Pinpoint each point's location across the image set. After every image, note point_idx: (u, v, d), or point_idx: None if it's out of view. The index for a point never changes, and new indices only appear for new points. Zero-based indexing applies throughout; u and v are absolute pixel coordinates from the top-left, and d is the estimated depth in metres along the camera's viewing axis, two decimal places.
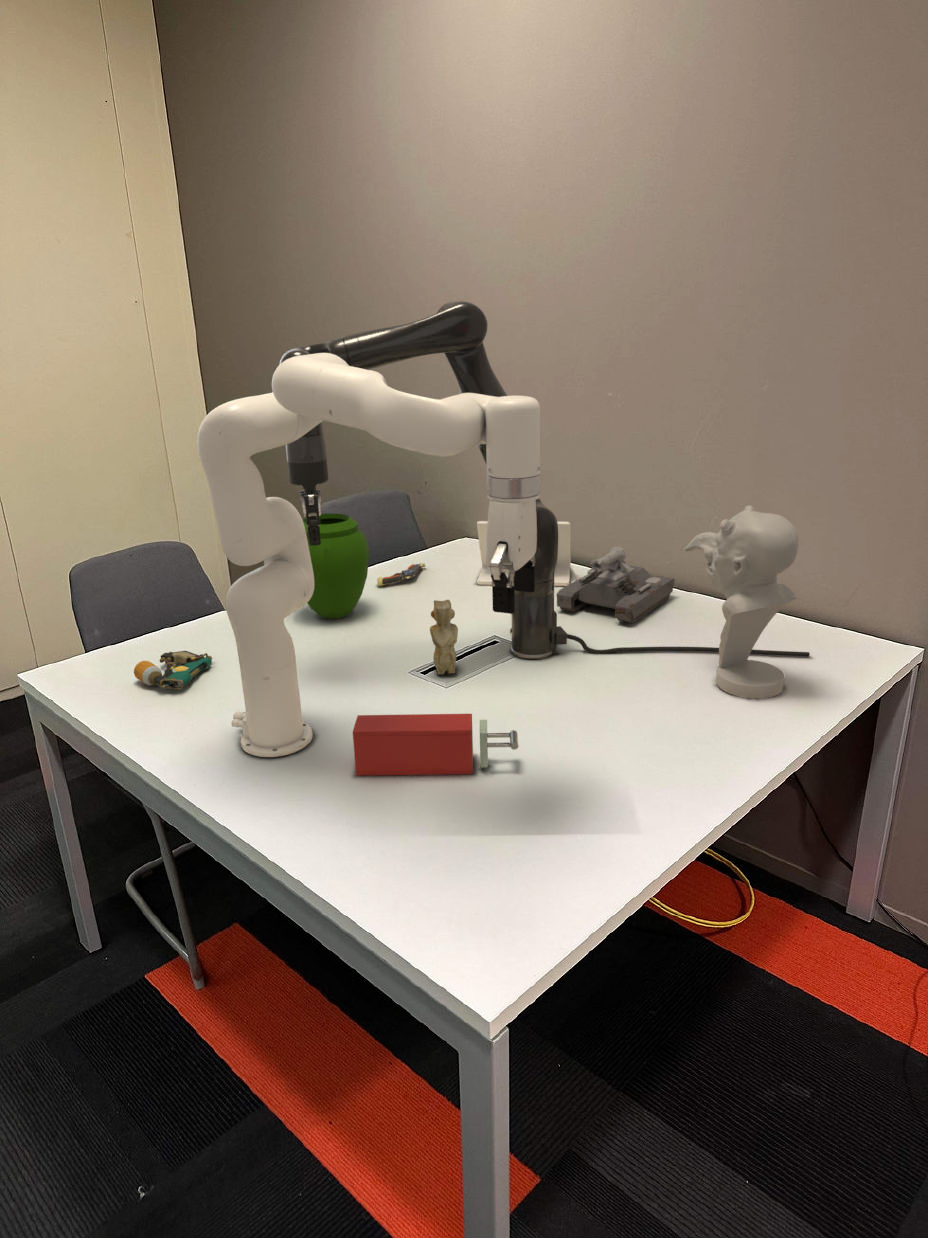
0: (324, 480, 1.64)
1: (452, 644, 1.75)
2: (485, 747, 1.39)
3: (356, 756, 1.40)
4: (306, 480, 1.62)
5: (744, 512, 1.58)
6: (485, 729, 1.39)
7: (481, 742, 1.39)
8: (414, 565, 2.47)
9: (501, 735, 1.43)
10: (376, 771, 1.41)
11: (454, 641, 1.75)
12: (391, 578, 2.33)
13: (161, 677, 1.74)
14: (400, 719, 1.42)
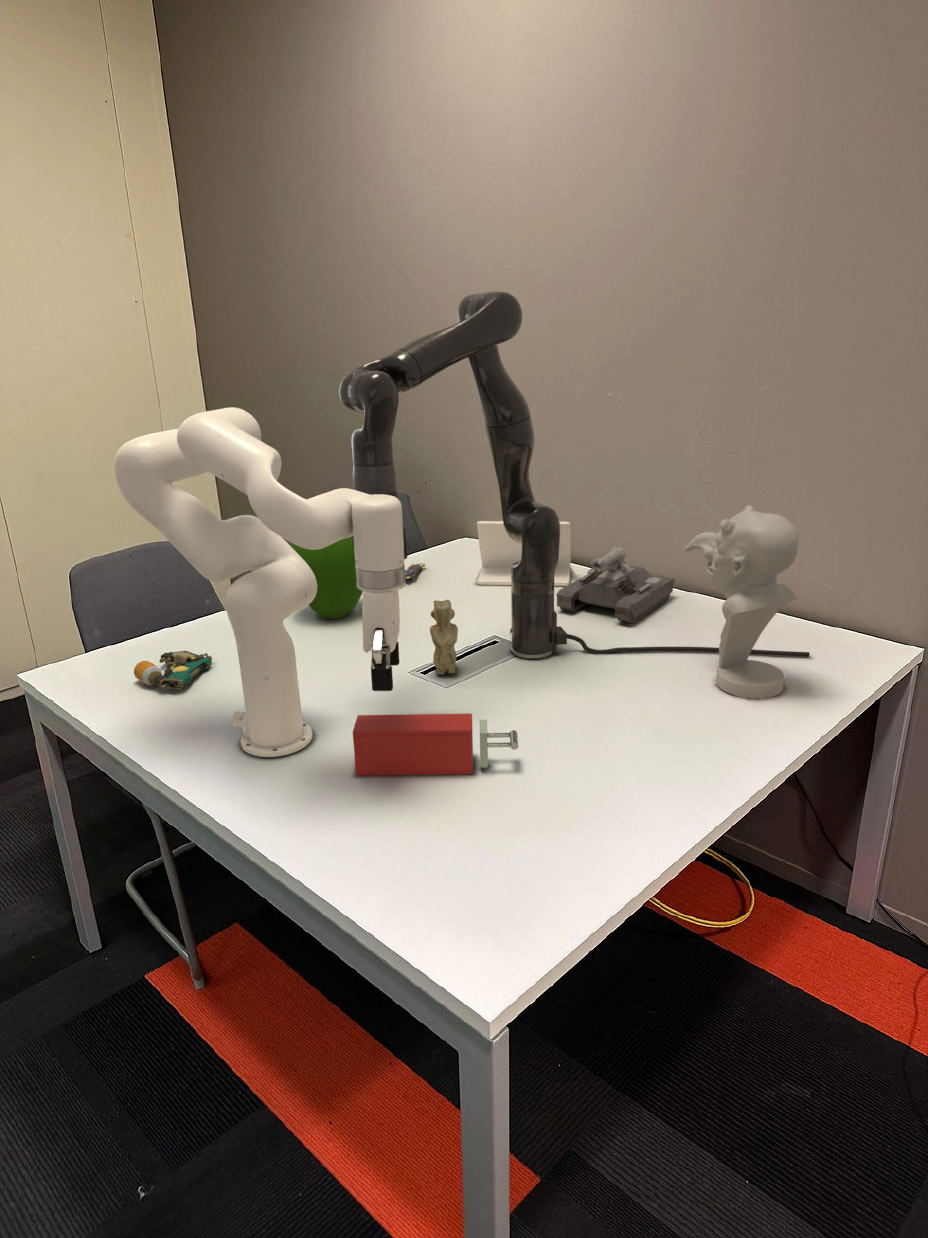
0: None
1: (452, 644, 1.75)
2: (485, 747, 1.39)
3: (356, 756, 1.40)
4: None
5: (744, 512, 1.58)
6: (485, 729, 1.39)
7: (481, 742, 1.39)
8: (414, 565, 2.47)
9: (501, 735, 1.43)
10: (376, 771, 1.41)
11: (454, 641, 1.75)
12: None
13: (161, 677, 1.74)
14: (400, 719, 1.42)
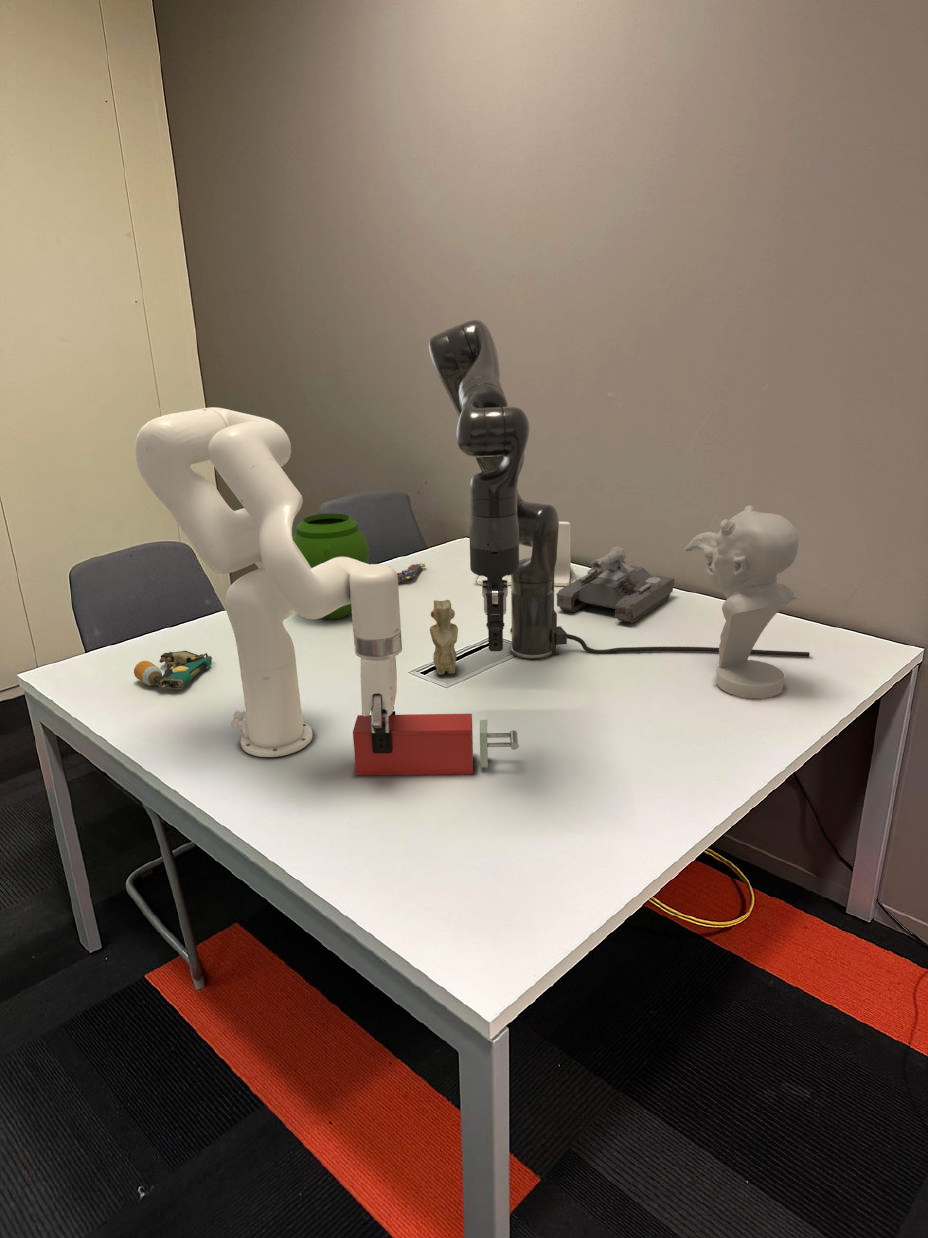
0: None
1: (452, 644, 1.75)
2: (485, 747, 1.39)
3: (356, 756, 1.40)
4: None
5: (744, 512, 1.58)
6: (485, 729, 1.39)
7: (481, 742, 1.39)
8: (414, 565, 2.47)
9: (501, 735, 1.43)
10: (376, 771, 1.41)
11: (454, 641, 1.75)
12: None
13: (161, 677, 1.74)
14: (400, 719, 1.42)
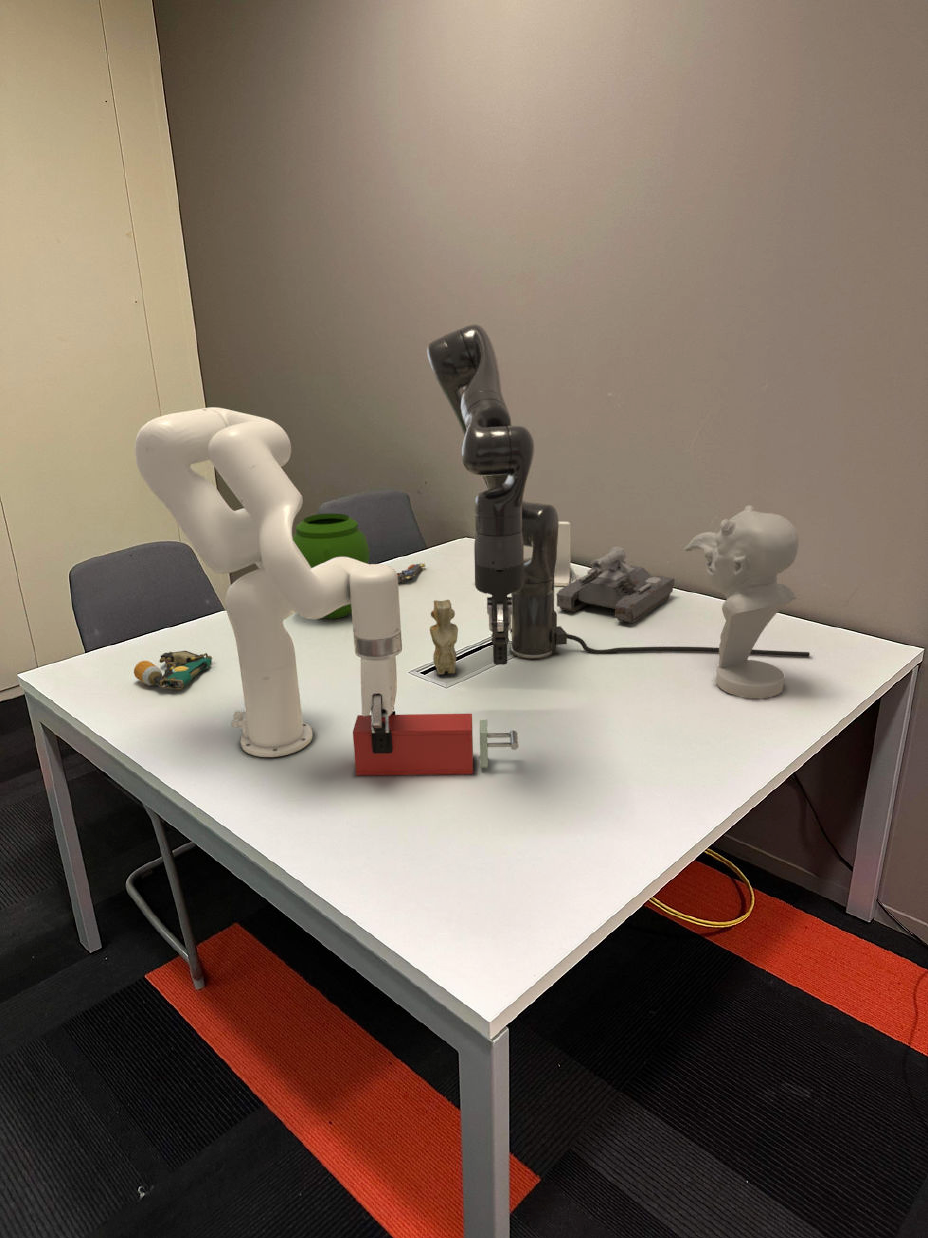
0: None
1: (452, 644, 1.75)
2: (485, 747, 1.39)
3: (356, 756, 1.40)
4: None
5: (744, 512, 1.58)
6: (485, 729, 1.39)
7: (481, 742, 1.39)
8: (414, 565, 2.47)
9: (501, 735, 1.43)
10: (376, 771, 1.41)
11: (454, 641, 1.75)
12: None
13: (161, 677, 1.74)
14: (400, 719, 1.42)
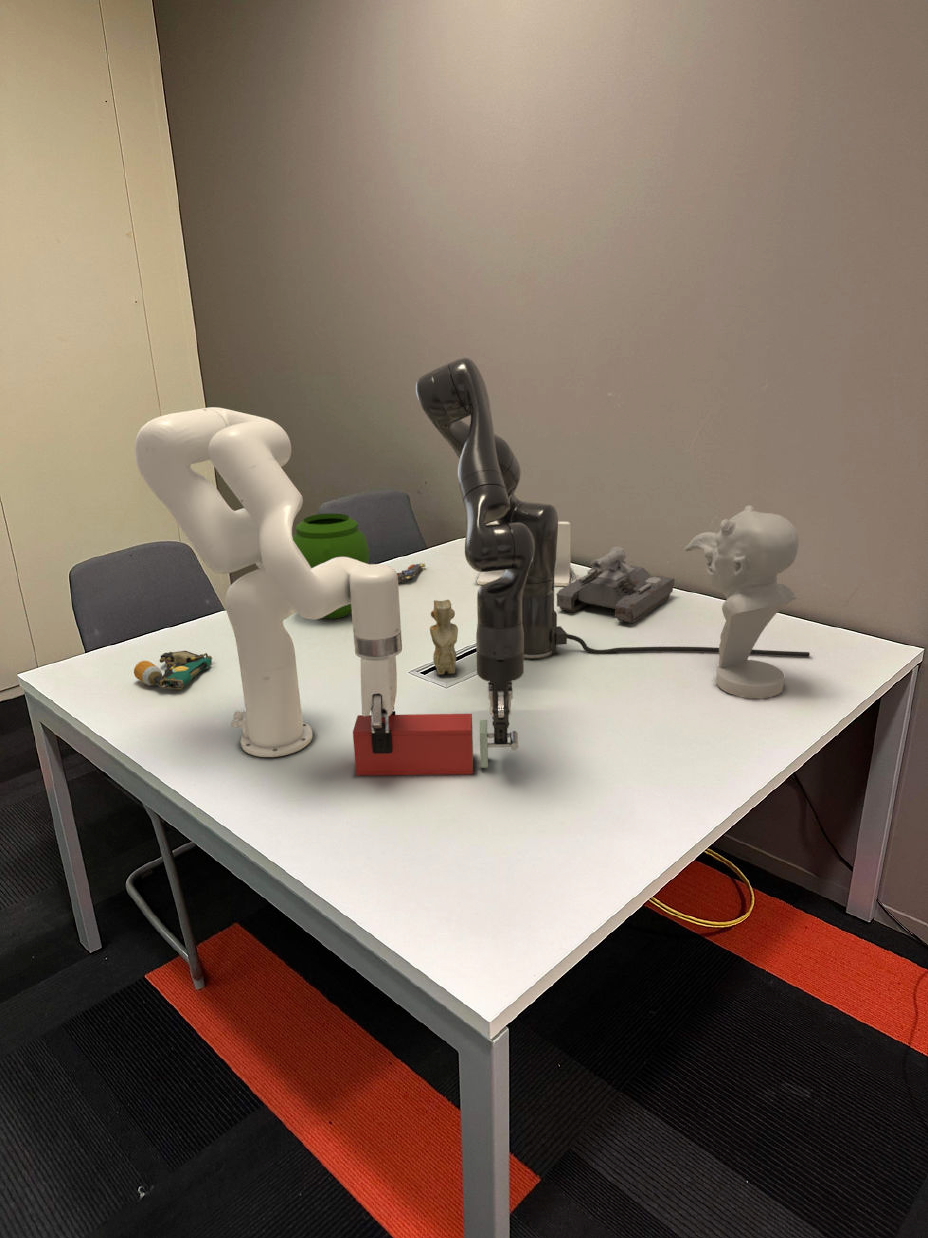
0: None
1: (452, 644, 1.75)
2: (485, 747, 1.39)
3: (356, 756, 1.40)
4: None
5: (744, 512, 1.58)
6: (485, 729, 1.39)
7: (481, 742, 1.39)
8: (414, 565, 2.47)
9: None
10: (376, 771, 1.41)
11: (454, 641, 1.75)
12: None
13: (161, 677, 1.74)
14: (400, 719, 1.42)
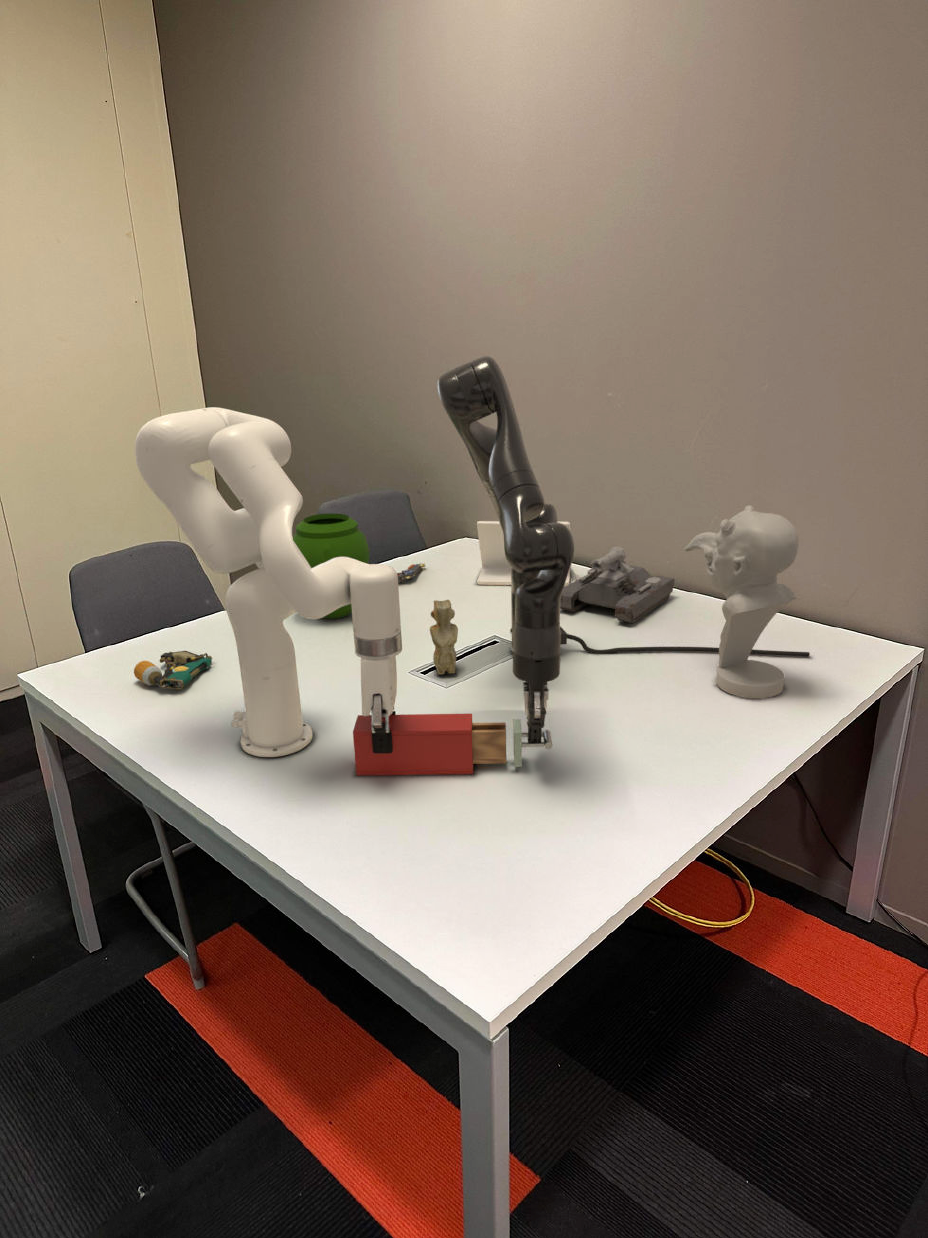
0: None
1: (452, 644, 1.75)
2: (519, 747, 1.39)
3: (356, 756, 1.40)
4: None
5: (744, 512, 1.58)
6: (519, 729, 1.39)
7: (515, 742, 1.39)
8: (414, 565, 2.47)
9: None
10: (376, 771, 1.41)
11: (454, 641, 1.75)
12: None
13: (161, 677, 1.74)
14: (400, 719, 1.42)
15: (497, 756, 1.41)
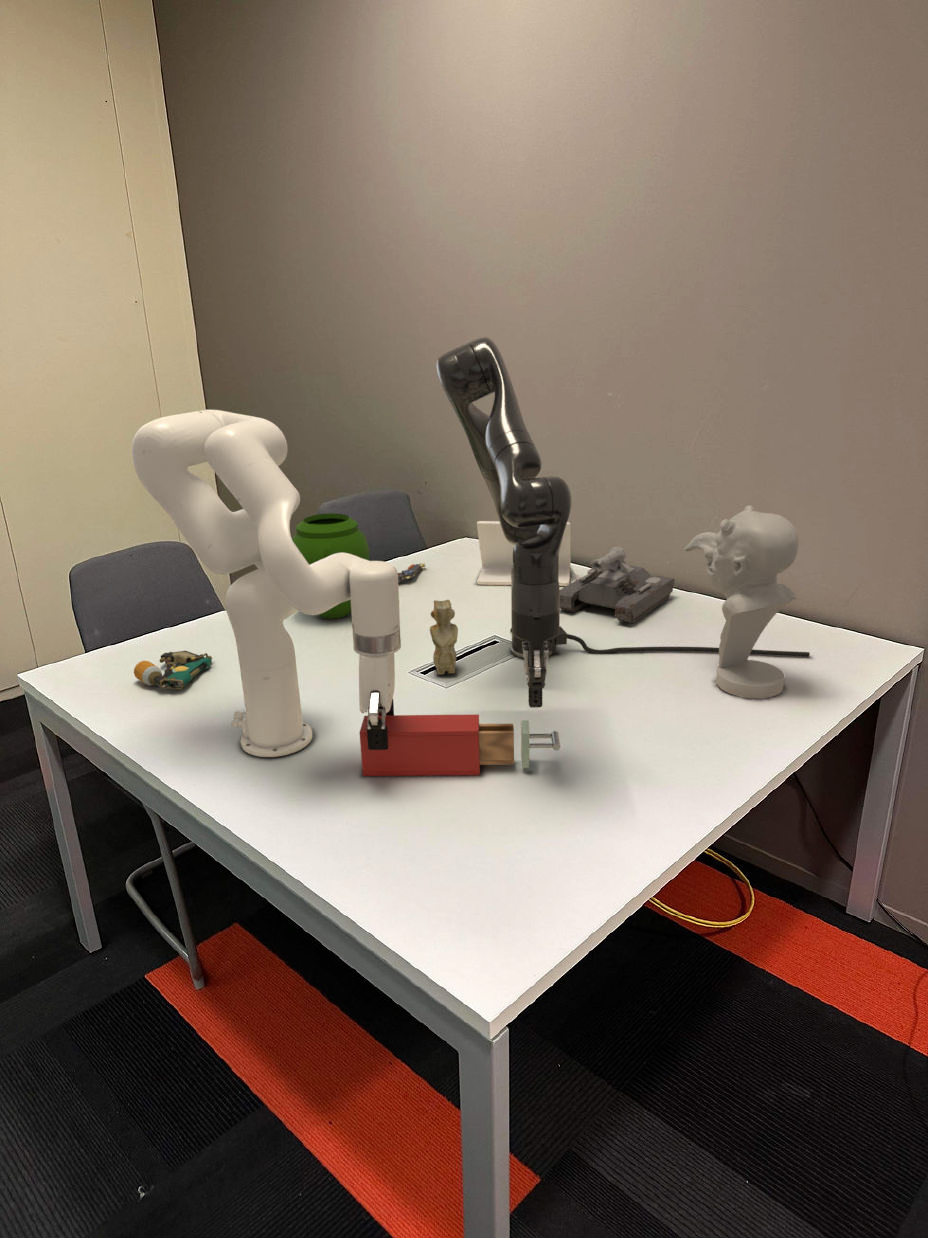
0: None
1: (452, 644, 1.75)
2: (527, 748, 1.39)
3: (362, 756, 1.39)
4: None
5: (744, 512, 1.58)
6: (527, 730, 1.39)
7: (523, 743, 1.38)
8: (414, 565, 2.47)
9: (542, 736, 1.42)
10: (382, 772, 1.40)
11: (454, 641, 1.75)
12: None
13: (161, 677, 1.74)
14: (407, 720, 1.41)
15: (505, 757, 1.40)
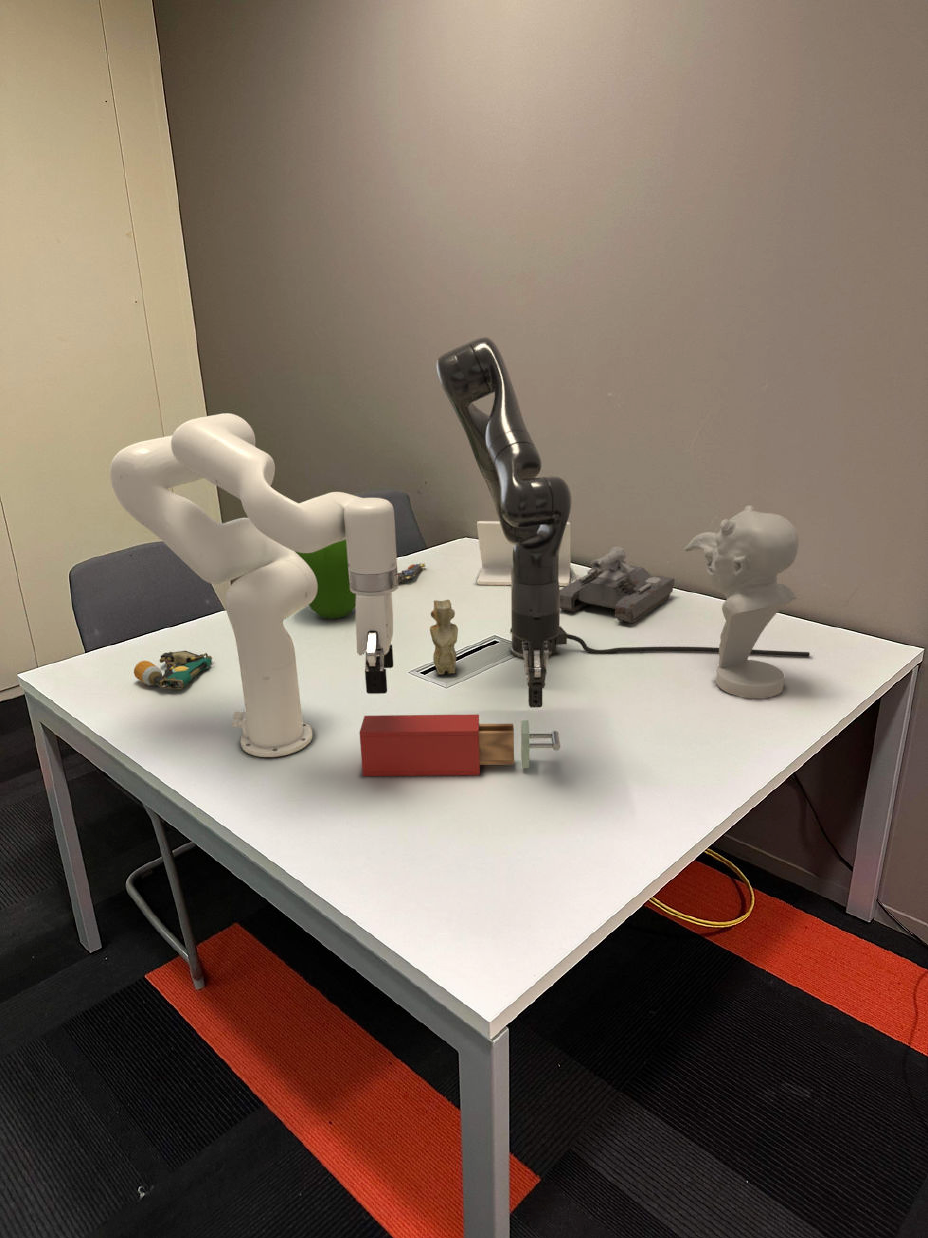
0: None
1: (452, 644, 1.75)
2: (527, 748, 1.39)
3: (362, 756, 1.39)
4: None
5: (744, 512, 1.58)
6: (527, 730, 1.39)
7: (523, 743, 1.38)
8: (414, 565, 2.47)
9: (542, 736, 1.42)
10: (382, 772, 1.40)
11: (454, 641, 1.75)
12: None
13: (161, 677, 1.74)
14: (407, 720, 1.41)
15: (505, 757, 1.40)
